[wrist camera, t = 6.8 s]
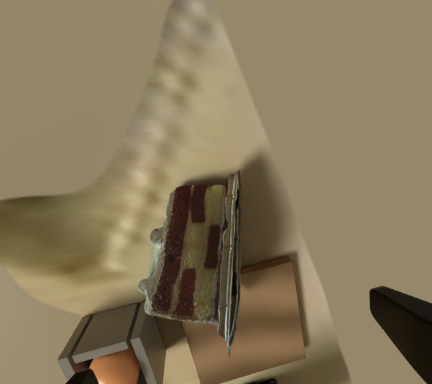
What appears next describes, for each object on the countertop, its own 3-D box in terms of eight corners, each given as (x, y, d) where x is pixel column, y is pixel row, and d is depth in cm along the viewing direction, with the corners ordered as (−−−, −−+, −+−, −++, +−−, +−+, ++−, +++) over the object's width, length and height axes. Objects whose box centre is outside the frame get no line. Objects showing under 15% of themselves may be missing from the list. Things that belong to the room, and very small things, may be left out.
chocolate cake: (152, 158, 17) (77, 338, 11) (241, 158, 16) (222, 364, 9) (183, 218, 25) (151, 345, 18) (245, 221, 24) (237, 360, 17)
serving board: (300, 348, 24) (305, 357, 23) (201, 378, 23) (202, 388, 22) (287, 255, 21) (292, 261, 20) (173, 285, 20) (172, 293, 19)
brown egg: (151, 348, 21) (141, 401, 17) (111, 359, 21) (91, 416, 16) (139, 316, 20) (126, 363, 16) (97, 327, 20) (72, 379, 16)
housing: (166, 350, 22) (161, 395, 18) (104, 367, 21) (86, 417, 17) (148, 299, 20) (139, 337, 16) (82, 317, 20) (57, 360, 16)
